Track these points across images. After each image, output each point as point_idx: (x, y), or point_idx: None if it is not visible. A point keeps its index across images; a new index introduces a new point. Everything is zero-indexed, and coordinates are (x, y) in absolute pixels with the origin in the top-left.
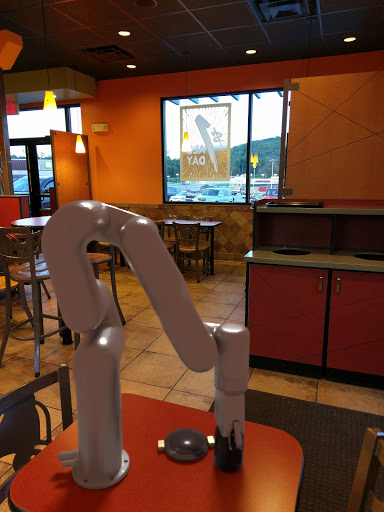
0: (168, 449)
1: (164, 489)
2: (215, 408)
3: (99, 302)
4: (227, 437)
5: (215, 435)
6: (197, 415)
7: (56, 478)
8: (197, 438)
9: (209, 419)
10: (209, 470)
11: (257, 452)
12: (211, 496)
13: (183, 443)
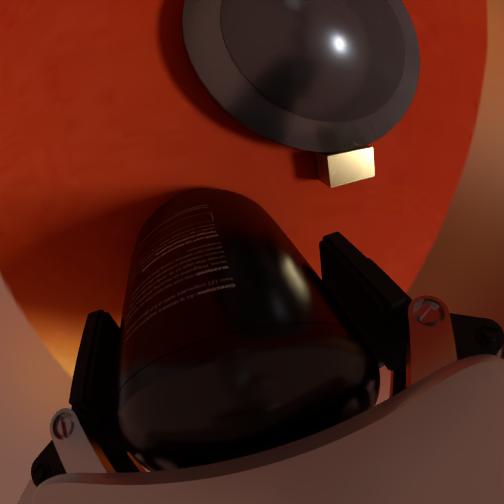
0: None
1: (10, 17)
2: (486, 497)
3: None
4: (100, 468)
5: (181, 337)
6: (471, 118)
7: None
8: (359, 91)
9: (455, 161)
10: (136, 172)
11: None
12: (8, 216)
13: (311, 10)
